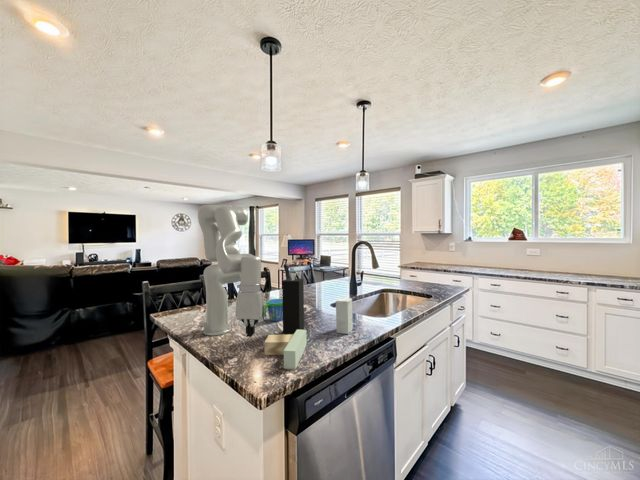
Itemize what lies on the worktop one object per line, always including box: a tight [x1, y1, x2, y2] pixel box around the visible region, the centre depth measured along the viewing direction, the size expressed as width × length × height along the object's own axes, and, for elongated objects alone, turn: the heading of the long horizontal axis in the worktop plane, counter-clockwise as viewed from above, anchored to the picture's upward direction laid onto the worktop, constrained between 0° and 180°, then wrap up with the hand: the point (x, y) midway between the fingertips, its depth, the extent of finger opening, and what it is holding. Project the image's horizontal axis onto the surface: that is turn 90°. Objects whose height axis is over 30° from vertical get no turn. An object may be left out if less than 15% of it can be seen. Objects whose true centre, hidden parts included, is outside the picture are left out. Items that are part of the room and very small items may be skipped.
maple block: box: [264, 334, 293, 356], centre depth 104 cm, size 10×8×5 cm
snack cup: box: [264, 298, 283, 322], centre depth 144 cm, size 16×10×10 cm
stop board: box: [283, 329, 307, 370], centre depth 100 cm, size 4×21×6 cm, turn 173°
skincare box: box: [335, 297, 354, 335], centre depth 125 cm, size 8×6×15 cm
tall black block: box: [281, 272, 305, 335], centre depth 122 cm, size 8×8×28 cm
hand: (250, 335), depth 103 cm, fingers closed
